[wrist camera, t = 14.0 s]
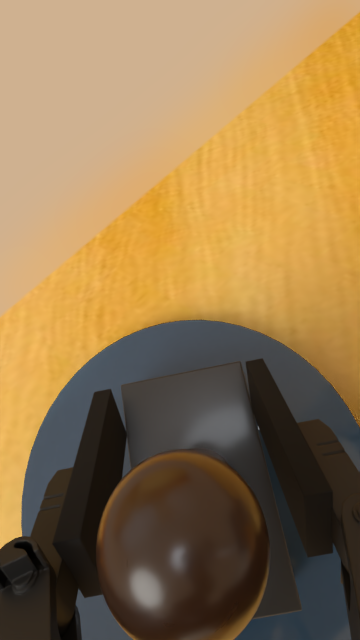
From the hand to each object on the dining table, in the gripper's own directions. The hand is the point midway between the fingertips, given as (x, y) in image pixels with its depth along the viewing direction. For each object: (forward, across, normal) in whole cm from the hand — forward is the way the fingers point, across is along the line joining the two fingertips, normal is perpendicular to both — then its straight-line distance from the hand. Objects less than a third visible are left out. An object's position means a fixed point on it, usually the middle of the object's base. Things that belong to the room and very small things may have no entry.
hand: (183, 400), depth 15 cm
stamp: (0, 0, -5) cm, 5 cm away
